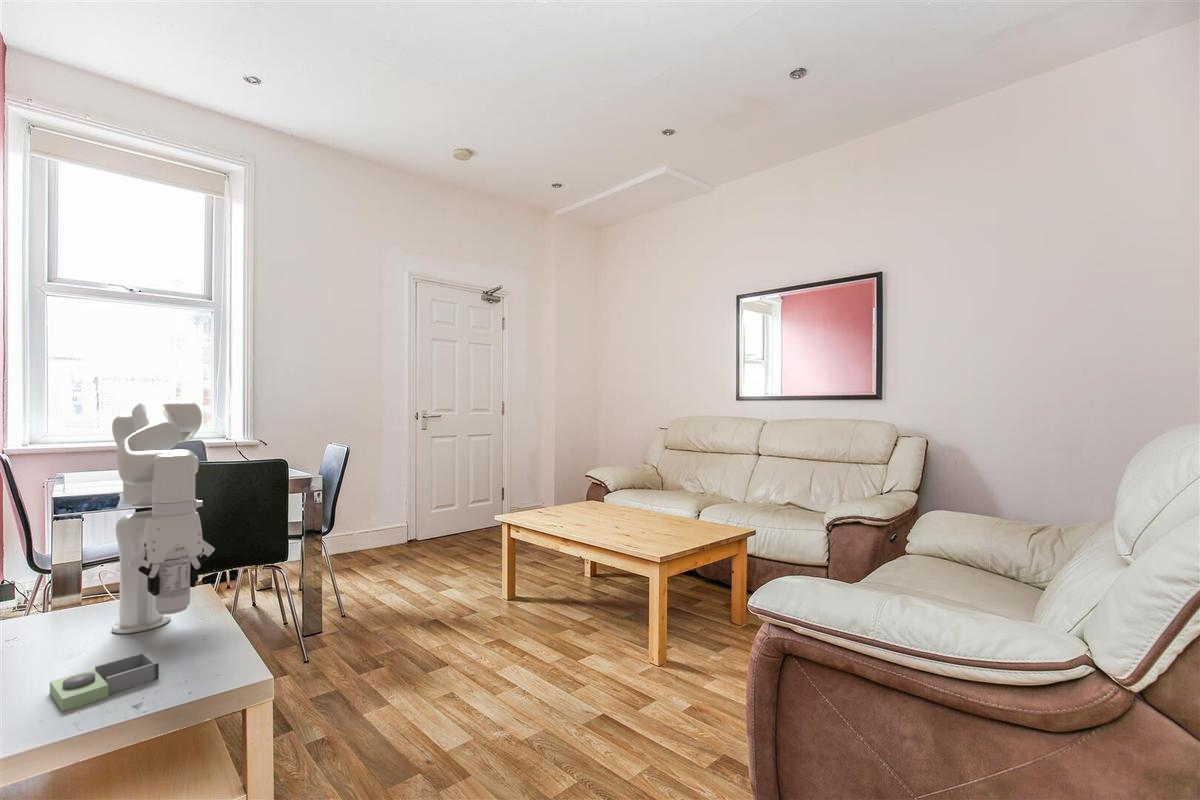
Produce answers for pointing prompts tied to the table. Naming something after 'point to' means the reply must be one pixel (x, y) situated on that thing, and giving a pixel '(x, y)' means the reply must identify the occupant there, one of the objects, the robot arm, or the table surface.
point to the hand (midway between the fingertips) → (173, 589)
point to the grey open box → (103, 680)
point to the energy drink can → (174, 582)
